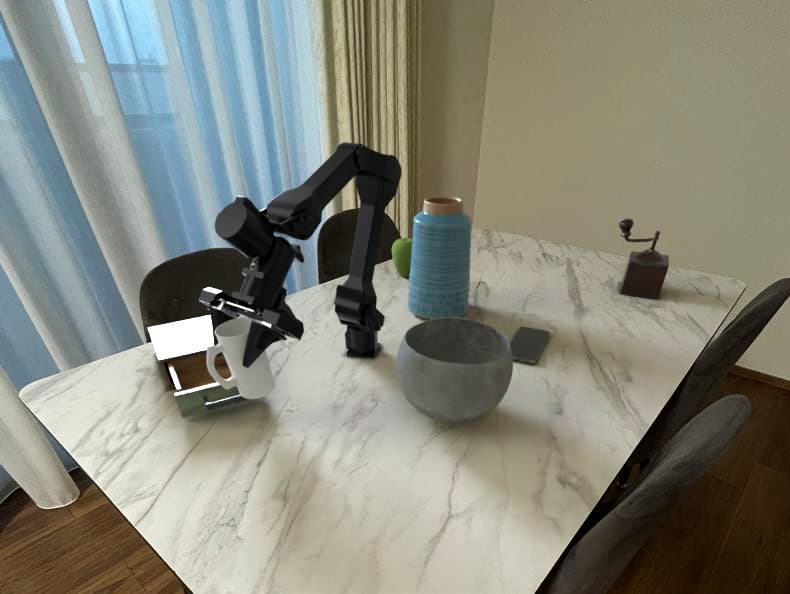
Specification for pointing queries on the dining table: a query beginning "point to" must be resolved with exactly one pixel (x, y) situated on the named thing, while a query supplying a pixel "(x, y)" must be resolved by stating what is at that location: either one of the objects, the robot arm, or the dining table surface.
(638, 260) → the manual coffee grinder
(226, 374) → the drawer
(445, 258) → the vase
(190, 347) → the cabinet
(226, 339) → the mug
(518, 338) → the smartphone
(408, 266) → the green rounded piece
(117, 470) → the dining table surface
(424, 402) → the bowl
